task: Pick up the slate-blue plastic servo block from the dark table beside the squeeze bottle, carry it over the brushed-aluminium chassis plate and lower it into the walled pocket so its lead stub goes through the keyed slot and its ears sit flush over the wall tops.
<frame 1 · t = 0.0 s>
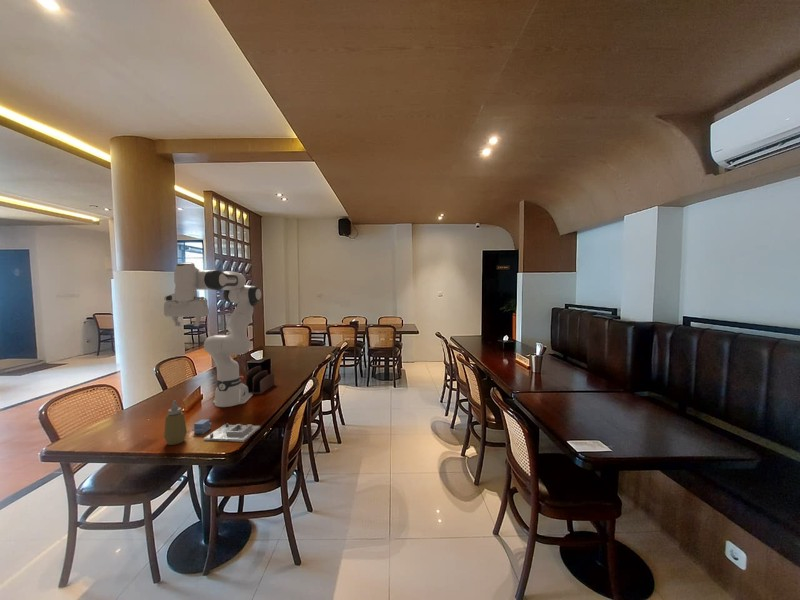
hand: (187, 326, 156), 48 cm above the table, fingers open, 8 cm apart
servo: (202, 431, 152), on the table
letter holder: (260, 389, 214), on the table
squeeze bottle: (175, 442, 141), on the table
chassis: (233, 433, 149), on the table
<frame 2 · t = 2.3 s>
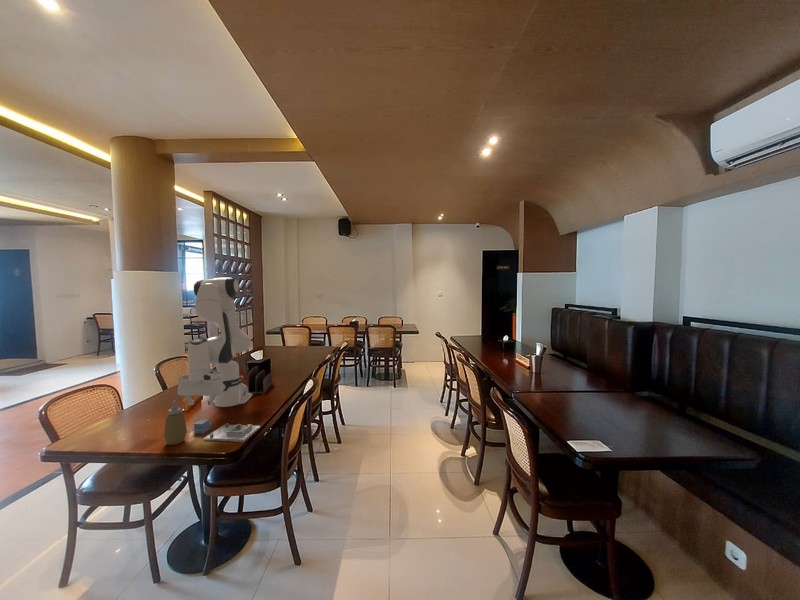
hand: (201, 404, 151), 13 cm above the table, fingers open, 8 cm apart
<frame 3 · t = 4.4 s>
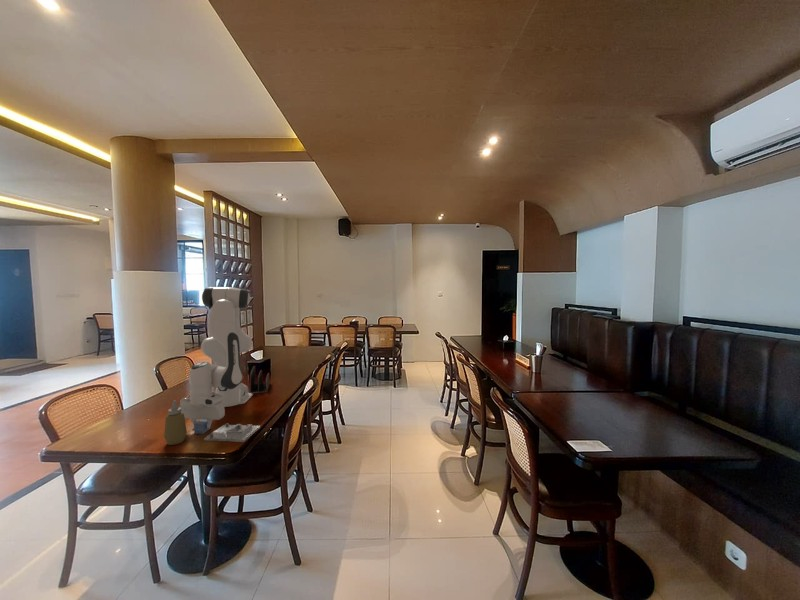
hand: (202, 427, 152), 2 cm above the table, fingers closed on servo, 4 cm apart
servo: (202, 431, 152), on the table, touching gripper
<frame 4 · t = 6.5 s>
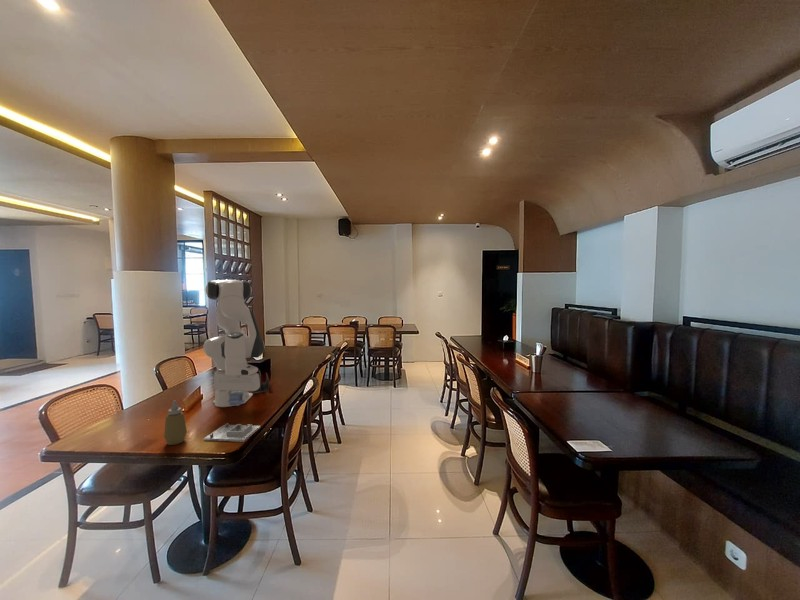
hand: (237, 400, 148), 16 cm above the table, fingers closed on servo, 4 cm apart
servo: (237, 403, 147), point 14 cm above the table, touching gripper
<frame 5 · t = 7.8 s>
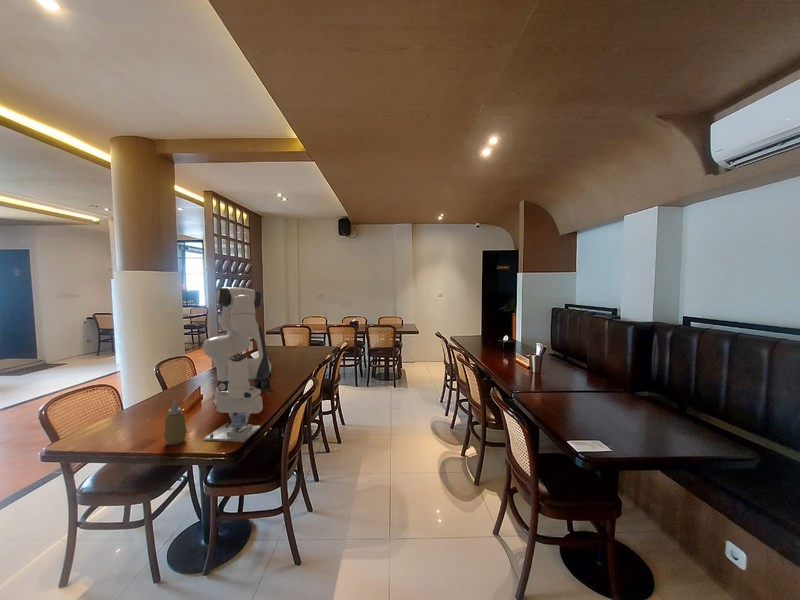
hand: (240, 421, 148), 6 cm above the table, fingers closed on servo, 4 cm apart
servo: (239, 425, 148), point 4 cm above the table, touching gripper
when the fingers open (4 cm above the table, at t = 8.8 s): servo drops 2 cm, resting on chassis.
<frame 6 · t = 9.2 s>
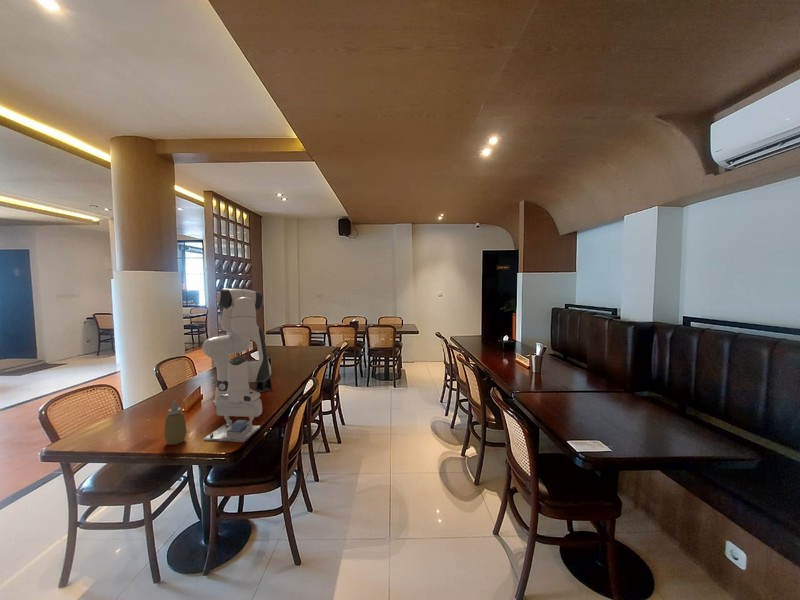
hand: (239, 425, 148), 4 cm above the table, fingers open, 8 cm apart
servo: (239, 432, 148), point 1 cm above the table, touching chassis
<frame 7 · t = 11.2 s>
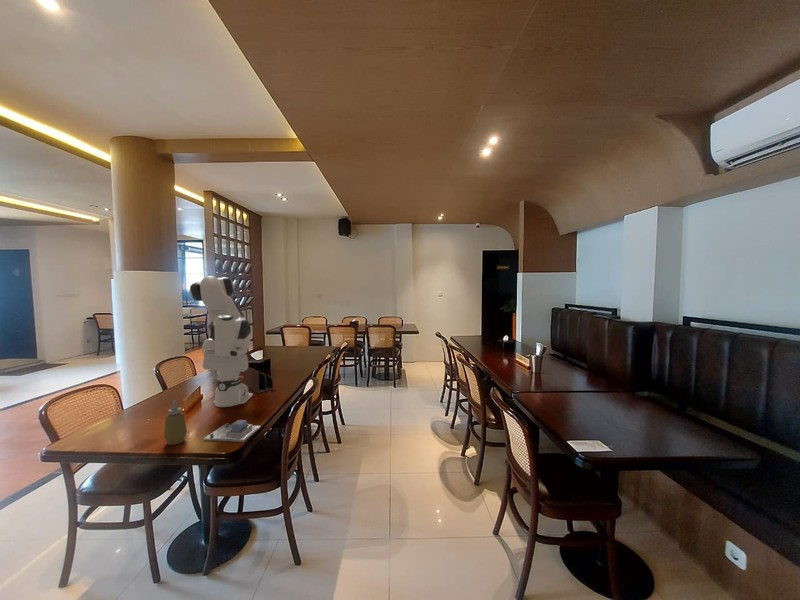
hand: (225, 379, 154), 23 cm above the table, fingers open, 8 cm apart
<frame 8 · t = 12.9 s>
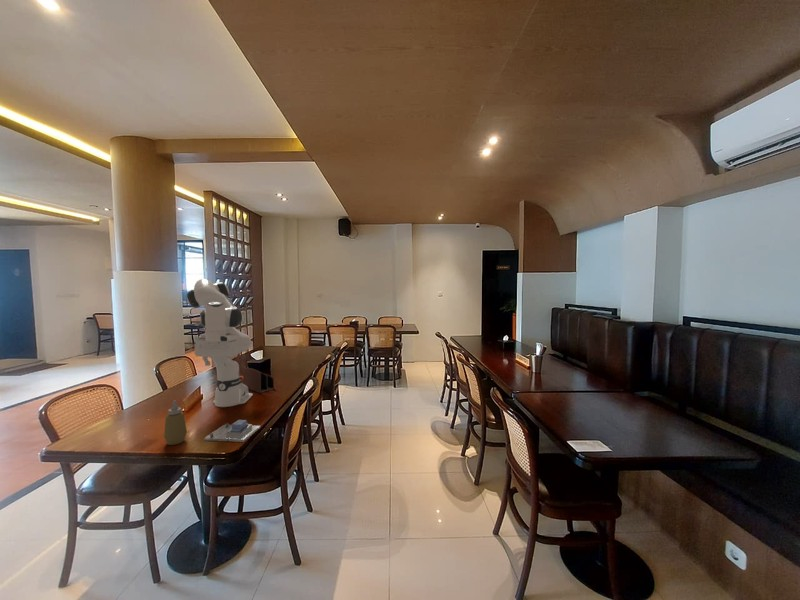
hand: (217, 365, 156), 29 cm above the table, fingers open, 8 cm apart
at the end: servo 0.1 cm from the target spot on the chassis, point 1.0 cm above the chassis's base; servo tilted 0°; the gripper is holding nothing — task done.
